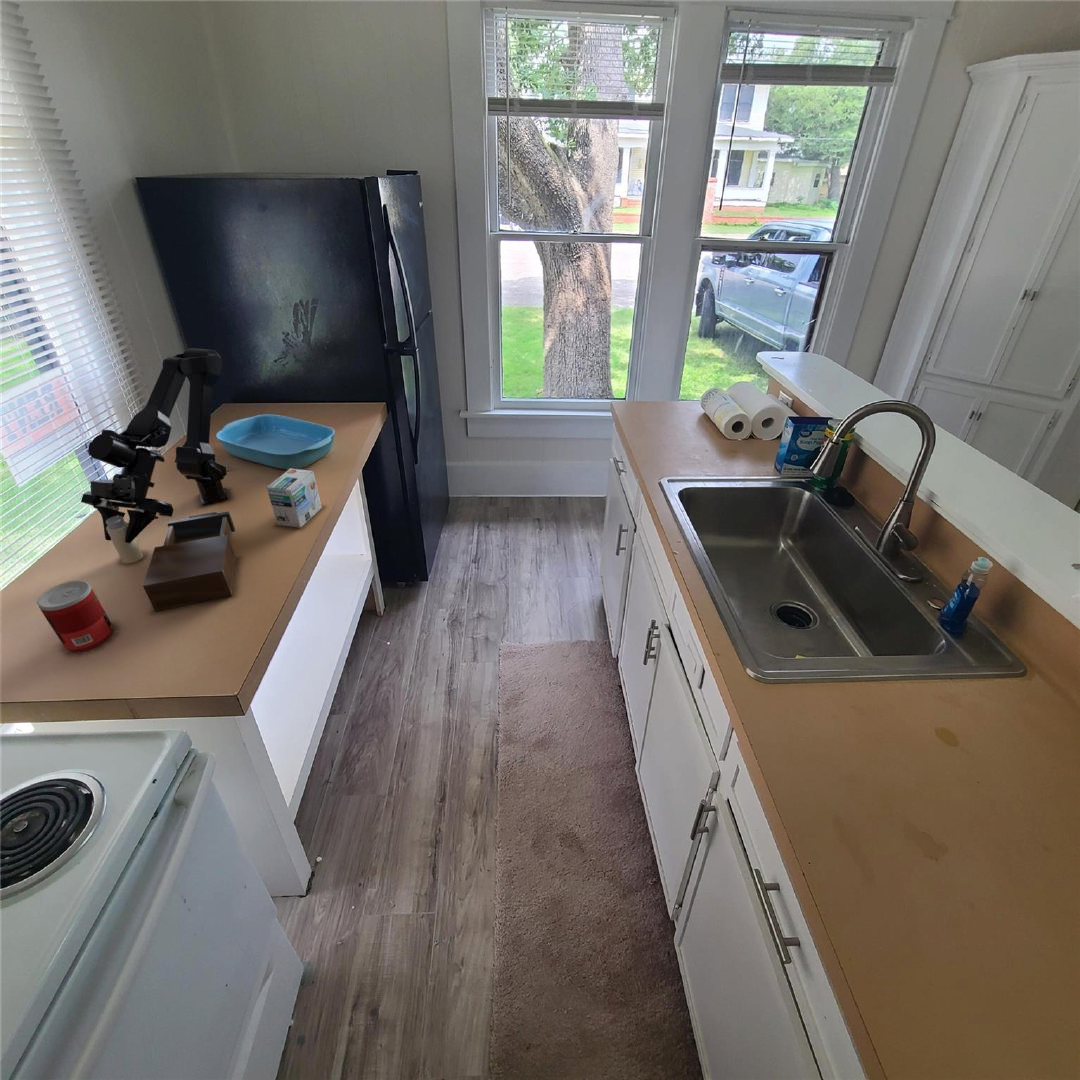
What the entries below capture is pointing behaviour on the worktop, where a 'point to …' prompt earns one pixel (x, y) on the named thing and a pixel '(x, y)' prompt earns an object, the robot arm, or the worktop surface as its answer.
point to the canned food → (76, 615)
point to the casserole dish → (277, 440)
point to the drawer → (200, 527)
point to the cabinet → (190, 573)
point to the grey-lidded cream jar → (123, 540)
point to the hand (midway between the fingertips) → (117, 541)
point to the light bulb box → (294, 497)
